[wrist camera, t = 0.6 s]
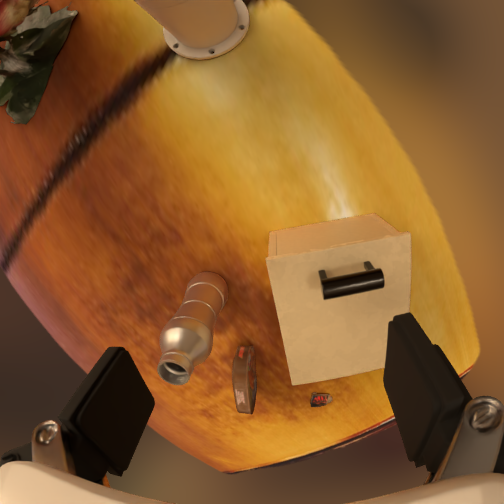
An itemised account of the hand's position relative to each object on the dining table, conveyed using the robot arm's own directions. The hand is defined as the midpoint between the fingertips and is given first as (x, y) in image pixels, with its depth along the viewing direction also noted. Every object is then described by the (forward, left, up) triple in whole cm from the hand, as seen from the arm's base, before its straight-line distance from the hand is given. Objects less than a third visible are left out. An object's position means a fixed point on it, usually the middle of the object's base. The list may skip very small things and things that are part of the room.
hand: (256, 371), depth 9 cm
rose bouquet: (-43, -40, -33) cm, 68 cm away
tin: (+30, -10, -33) cm, 46 cm away
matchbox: (+43, +3, -33) cm, 54 cm away
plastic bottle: (+12, -12, -33) cm, 37 cm away
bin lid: (+14, +7, -21) cm, 26 cm away
